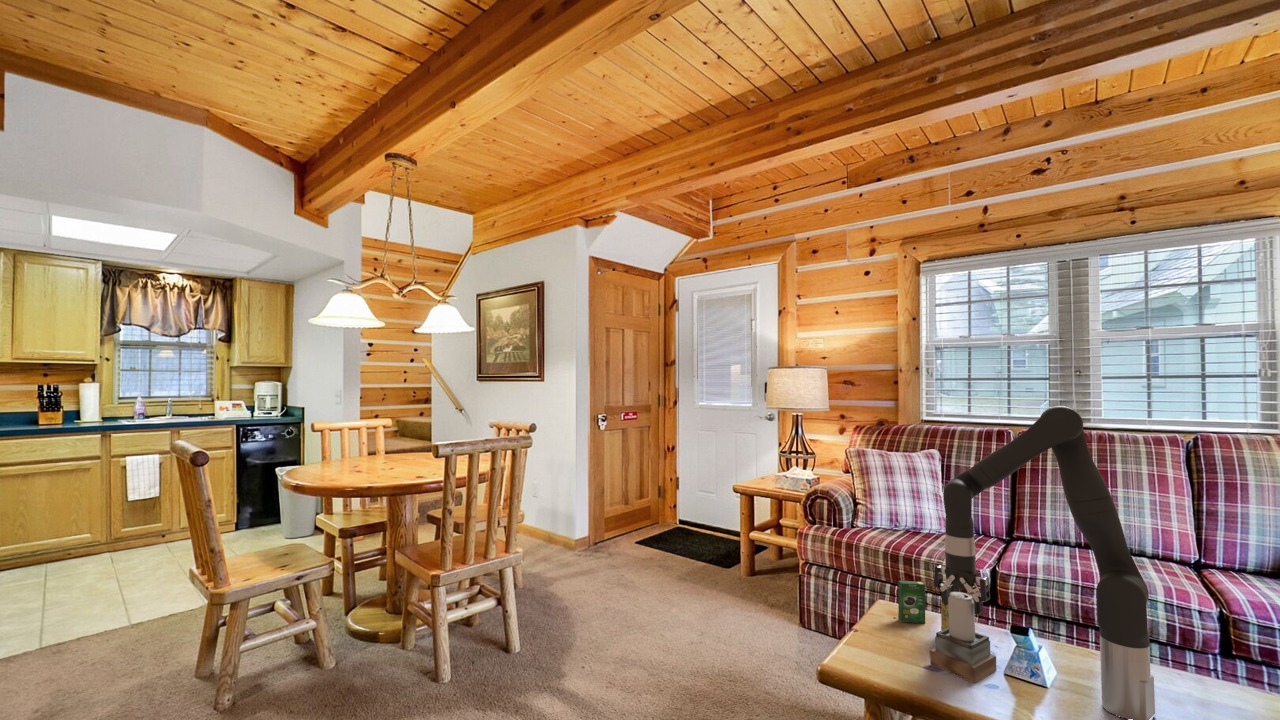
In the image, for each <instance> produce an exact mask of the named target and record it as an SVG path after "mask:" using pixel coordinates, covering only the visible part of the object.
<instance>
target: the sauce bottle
mask: <svg viewBox="0 0 1280 720" xmlns="http://www.w3.org/2000/svg"><path fill="white" fill-rule="evenodd" d="M945 579H946V580H947V579H948V577H947V576H946V575H945ZM946 580H945V581H946ZM948 591H949V593H951V592H962V591H961V588H960V587H954V586H953V585H952V586H951V587H950V588H949V589H948ZM940 608H941V611H940V613H941V614H940V615H941V618H940V619H941V620H940V622H941V623H940V624H941V625H940V626H941V627H940V631H941V630H943V629H946V628H948V627H949V609H948V605H944V604H943V602H942V601H941V607H940Z"/></svg>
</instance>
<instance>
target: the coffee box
mask: <svg viewBox="0 0 1280 720" xmlns="http://www.w3.org/2000/svg"><path fill="white" fill-rule="evenodd" d="M897 596H898V604H897V605H898V621H899V622H900V621H901V622H900V623H906V622H907V623H906V624H909V623H910V622H912V623H915V624H926V584H925V583H924V582H923V581H915V580H914V581H909V580H898V595H897ZM912 623H911V624H912Z"/></svg>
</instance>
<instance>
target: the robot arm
mask: <svg viewBox="0 0 1280 720" xmlns="http://www.w3.org/2000/svg"><path fill="white" fill-rule="evenodd" d="M1049 449H1052V452H1053V454H1054V456H1055V458H1056V461H1057V466H1058V471H1059V475H1060V479H1061V485H1062V489H1063V493H1064V496H1065V500H1066V502H1067V505H1068V508H1069V510H1070V514H1071V515H1072V516H1071V517H1072V518H1073V520H1074V522H1075V525H1076V526H1077V528H1078V530H1079V531H1080V533H1081V534H1082V536H1083V537H1084V538H1085V540H1086V542H1087V543H1088V545H1089V547H1090V548H1091V551H1092V553H1093V556H1094V559H1095V562H1096V565H1097V569H1098V574H1099V581H1098V583H1097V586H1096V590H1095V591H1096V598H1095V599H1096V614H1097V616H1096V617H1097V624H1098V627H1099V648H1100V649H1099V651H1100V652H1099V653H1100V654H1099V655H1100V681H1101V682H1100V684H1101V705H1102V707H1104V708H1105V709H1106V710H1105V709H1104V708H1103V709H1104V710H1105V711H1106V712H1108V711H1109V712H1108V713H1110V714H1111V713H1112V714H1111V715H1113V714H1115V715H1117V716H1120V717H1122V718H1126V719H1133V720H1149V719H1150V718H1151V717H1152V716H1153V715H1154V714H1155V715H1156V704H1155V703H1156V697H1155V677H1154V676H1153V675H1151V674H1152V673H1151V652H1150V651H1151V649H1150V635H1149V629H1148V611H1147V609H1148V608H1147V607H1148V605H1147V603H1148V600H1149V597H1150V591H1149V588H1148V585H1147V584H1146V582H1145V580H1144V578H1143V576H1142V573H1141V572H1140V571H1139V569H1138V567H1137V564H1136V562H1135V561H1134V559H1133V555H1132V554H1131V552H1130V549H1129V547H1128V544H1127V541H1126V536H1125V533H1124V530H1123V526H1122V523H1121V521H1120V520H1121V519H1120V517H1119V513H1118V510H1117V507H1116V505H1115V502H1114V500H1113V497H1112V495H1111V492H1110V490H1109V488H1108V486H1107V484H1106V482H1105V479H1104V478H1103V476H1102V474H1101V473H1100V471H1099V469H1098V467H1097V465H1096V464H1095V462H1094V460H1093V458H1092V455H1091V453H1090V451H1089V447H1088V444H1087V440H1086V436H1085V431H1084V420H1083V418H1082V416H1081V415H1080V414H1079V412H1077V411H1076V410H1075V409H1073V408H1071V407H1069V406H1063V405H1055V406H1051V407H1048V408H1047V409H1045V410H1044V411H1043V412H1042V413H1041V415H1040V416H1039V418H1038V419H1037V420H1036V421H1035V422H1034V423H1033V424H1032V425H1031V426H1030V427H1029V428H1028V429H1027V430H1025V431H1023V432H1022V434H1020V435H1019V436H1017V437H1016V438H1014V439H1013V440H1011V441H1009V442H1008V443H1007V444H1004V445H1003V446H1001V447H1000V448H997V449H996V450H994V451H993V452H992V453H989V454H988V455H987V456H985V457H984V458H982V459H981V460H980V461H978V462H977V463H975V464H974V465H973V466H971V468H969V469H967V470H966V471H964V472H962V473H960V474H959V475H956V476H955V477H954V478H953V479H951V480H949V481H948V482H947V483H946V485H945V486H944V488H943V506H944V514H945V521H944V526H945V536H944V537H945V538H944V558H945V559H944V560H945V561H944V562H945V563H944V564H945V567H943V566H942V565H937V566H935V567H934V569H933V570H934V574H933V576H934V577H933V586H934V587H935V588H938V589H940V592H941V593H940V595H941V603H942V602H943V604H944V605H948V597H949V596H950V593H949V591H948V589H949V588H950V587H951V586H952V585H953V586H954V587H960V590H964V591H965V590H966V591H967V593H968V594H969V595H971V596H972V598H973V601H974V614H975V616H980V615H982V614H983V612H984V608H983V607H984V603H985V602H988V601H989V600H991V592H990V581H989V578H988V577H986V576H985V577H980V576H977V574H976V572H977V571H976V570H977V562H976V561H977V560H976V559H977V558H976V542H975V527H974V519H973V517H972V512H973V510H972V504H973V503H972V502H973V501H972V500H973V498H975V497H976V496H977V495H979V494H981V493H982V492H983V491H985V490H987V489H990V488H992V487H994V486H996V485H997V484H999V483H1001V482H1002V481H1004V480H1005V479H1006V478H1008V477H1010V476H1011V475H1012V474H1014V473H1015V472H1017V471H1018V470H1020V468H1022V467H1023V466H1024V465H1026V464H1027V463H1029V462H1030V461H1031V460H1033V459H1034V458H1036V457H1037V456H1039V455H1041V454H1042V453H1044V452H1045V451H1047V450H1048V451H1049ZM944 575H945V577H946V576H947V577H948V579H947V580H945V582H944V581H943V580H944V579H943V578H944ZM976 583H977V584H978V585H977V584H976ZM978 586H979V587H980V588H979V587H978ZM1115 715H1114V716H1115ZM1117 716H1116V717H1117ZM1120 717H1119V718H1120ZM1122 718H1121V719H1122Z"/></svg>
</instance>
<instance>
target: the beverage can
mask: <svg viewBox="0 0 1280 720" xmlns="http://www.w3.org/2000/svg"><path fill="white" fill-rule="evenodd" d="M974 601H975V600H974V598H973V597H972V595H971V594H969V593H967V592H962V591H961V592H951V593H950V596H949V597H948V609H949V634H950V635H951V636H952V638H955V639H957V640H960V641H963V642H972V641H973V640H975V632H976V623H975V621H976V620H975V617H976V615H975V614H974Z"/></svg>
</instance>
